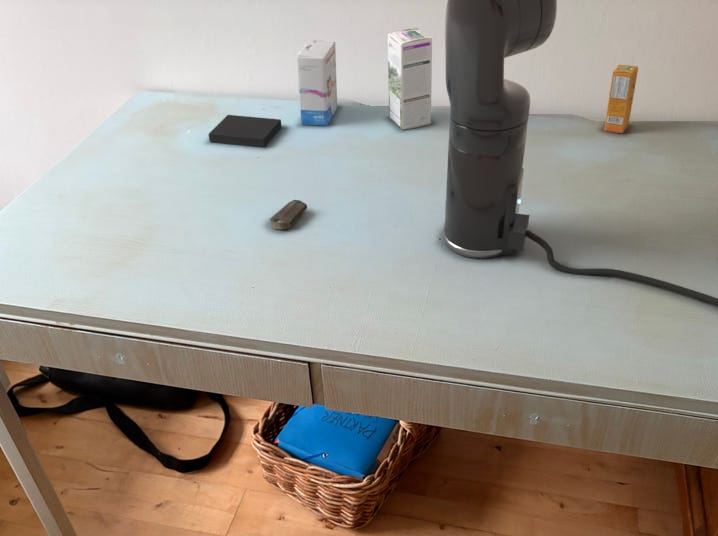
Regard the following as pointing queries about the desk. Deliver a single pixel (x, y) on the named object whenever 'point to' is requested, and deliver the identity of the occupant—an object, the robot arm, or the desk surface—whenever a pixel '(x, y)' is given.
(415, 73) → the syrup box
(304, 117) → the ink box
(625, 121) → the supplement box
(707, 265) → the desk surface
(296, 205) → the block
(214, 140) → the black pad
